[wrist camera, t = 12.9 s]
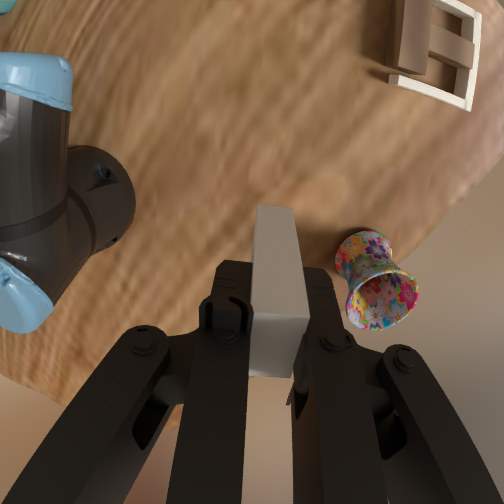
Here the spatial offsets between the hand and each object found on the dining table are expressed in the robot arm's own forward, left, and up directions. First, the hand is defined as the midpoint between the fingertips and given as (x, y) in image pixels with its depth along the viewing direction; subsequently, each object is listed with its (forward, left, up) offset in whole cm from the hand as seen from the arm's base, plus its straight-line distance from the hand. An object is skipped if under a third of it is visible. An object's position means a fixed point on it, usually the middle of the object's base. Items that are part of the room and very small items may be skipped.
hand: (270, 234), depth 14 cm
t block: (+18, +16, -24) cm, 34 cm away
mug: (+16, -16, -25) cm, 33 cm away
